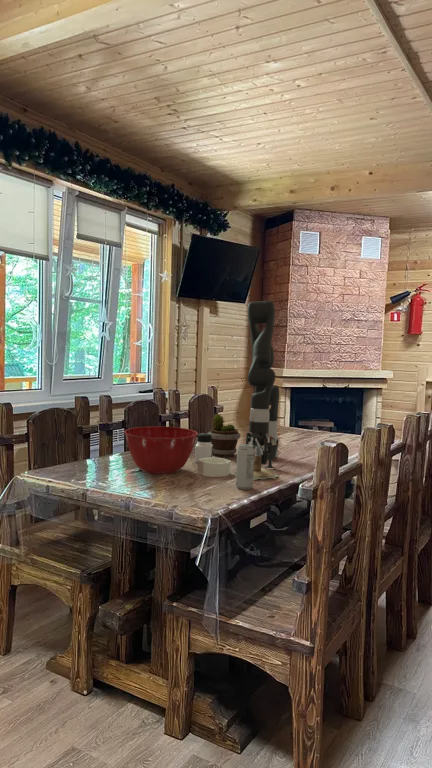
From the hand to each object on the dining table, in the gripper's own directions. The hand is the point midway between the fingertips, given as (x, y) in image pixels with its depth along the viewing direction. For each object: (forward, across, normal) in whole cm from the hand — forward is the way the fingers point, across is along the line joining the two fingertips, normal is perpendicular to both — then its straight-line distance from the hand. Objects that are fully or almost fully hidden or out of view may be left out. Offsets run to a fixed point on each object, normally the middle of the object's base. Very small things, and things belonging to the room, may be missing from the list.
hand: (257, 461), depth 212 cm
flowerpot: (+6, +42, -9) cm, 43 cm away
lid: (+5, 0, 0) cm, 5 cm away
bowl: (+5, +9, +14) cm, 17 cm away
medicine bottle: (+6, +31, +7) cm, 32 cm away
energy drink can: (+6, -15, +15) cm, 22 cm away
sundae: (+6, +10, -13) cm, 17 cm away
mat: (+5, 0, 0) cm, 5 cm away
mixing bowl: (+6, +20, +32) cm, 38 cm away
